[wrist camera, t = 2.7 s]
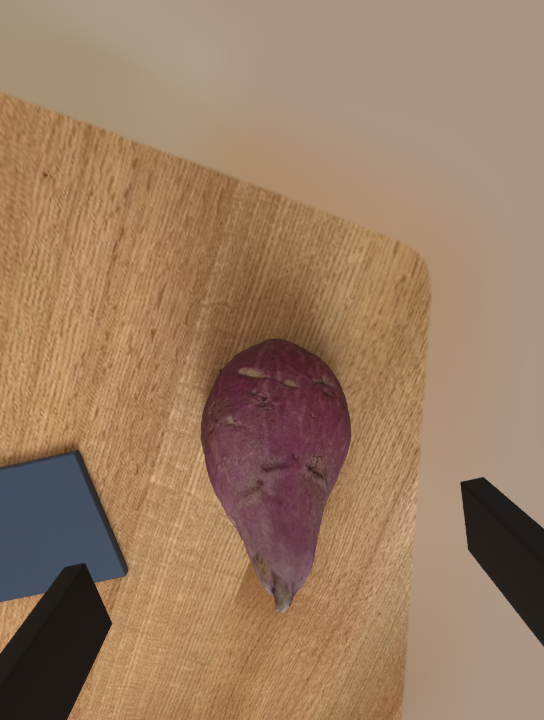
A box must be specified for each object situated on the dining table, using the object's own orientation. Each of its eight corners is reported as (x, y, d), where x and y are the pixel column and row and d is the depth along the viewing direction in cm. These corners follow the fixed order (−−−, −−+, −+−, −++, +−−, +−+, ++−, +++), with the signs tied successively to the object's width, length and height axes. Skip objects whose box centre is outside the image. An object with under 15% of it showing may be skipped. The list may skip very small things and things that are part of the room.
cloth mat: (78, 450, 24) (73, 454, 24) (128, 570, 27) (125, 576, 26) (-107, 491, 25) (-116, 496, 25) (-41, 605, 28) (-47, 612, 27)
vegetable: (320, 443, 28) (399, 662, 15) (204, 442, 26) (177, 687, 13) (347, 337, 23) (498, 521, 10) (207, 327, 22) (169, 533, 8)
